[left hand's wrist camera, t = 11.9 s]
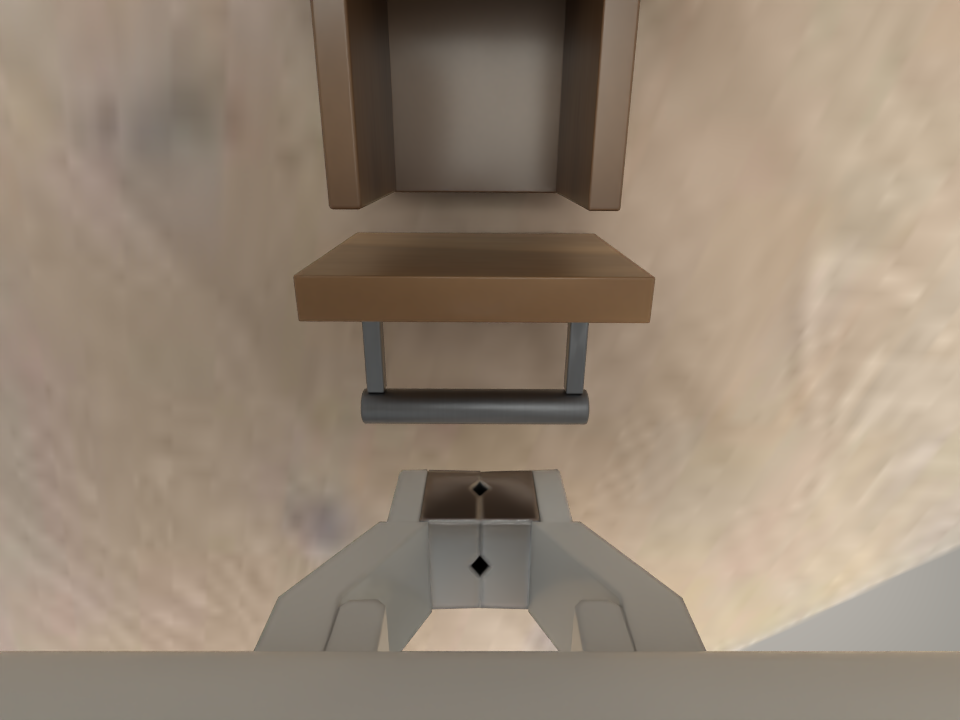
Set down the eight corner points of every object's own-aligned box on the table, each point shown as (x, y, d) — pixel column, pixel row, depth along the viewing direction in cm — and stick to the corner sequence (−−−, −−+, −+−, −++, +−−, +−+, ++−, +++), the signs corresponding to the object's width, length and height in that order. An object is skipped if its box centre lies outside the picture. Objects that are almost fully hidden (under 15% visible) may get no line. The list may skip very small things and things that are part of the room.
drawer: (583, 384, 23) (629, 490, 16) (368, 383, 23) (317, 488, 16) (647, -417, 14) (809, -961, 7) (308, -420, 14) (143, -967, 7)
